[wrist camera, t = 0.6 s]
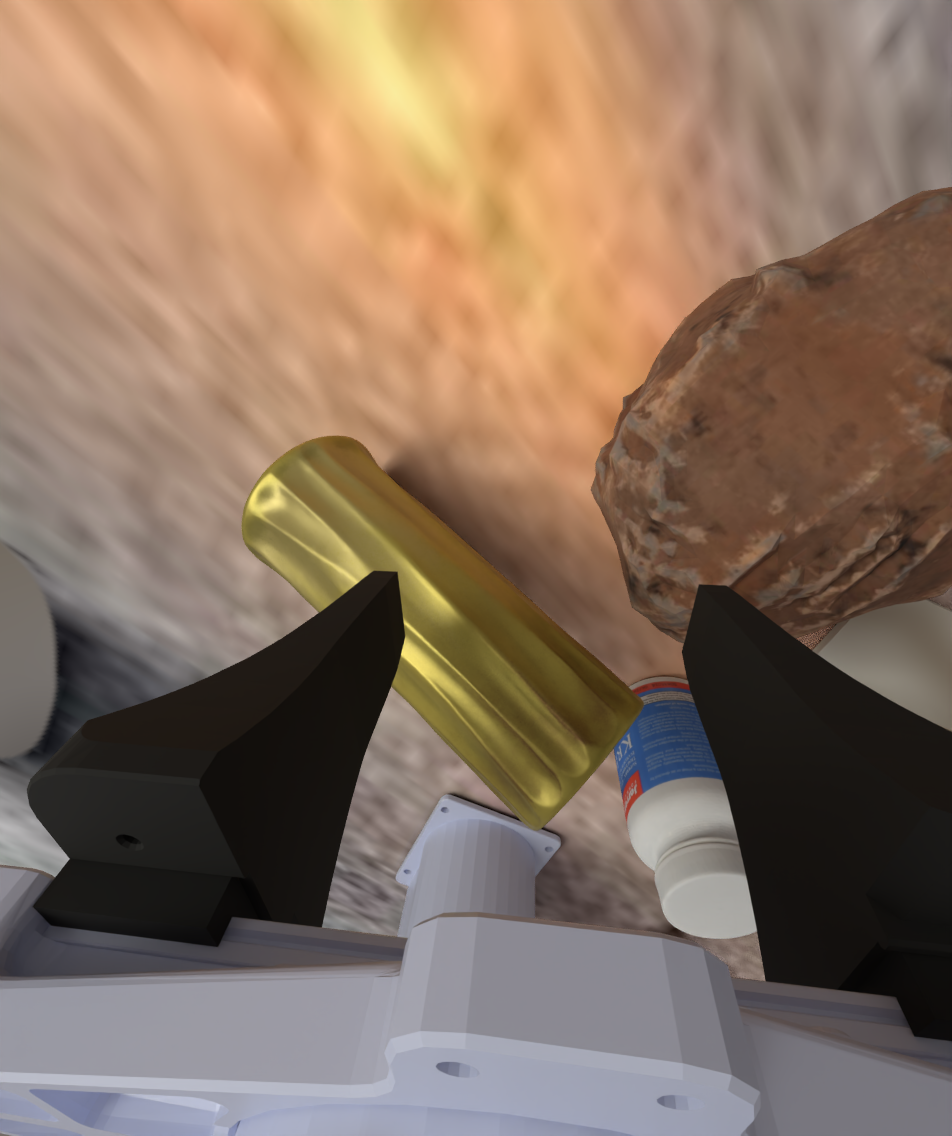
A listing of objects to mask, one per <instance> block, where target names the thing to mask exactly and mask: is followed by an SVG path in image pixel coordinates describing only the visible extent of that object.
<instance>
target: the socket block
mask: <svg viewBox="0 0 952 1136" xmlns="http://www.w3.org/2000/svg"><path fill="white" fill-rule="evenodd" d="M812 651H813V652H815V653H816V654H818V655H819V656H821V657H822V658H824V659H825V660H826V661H828V662H829V663H831V664H832V665H834V666H835V667H837V668H838V669H840V670H841V671H843V672H844V673H846V674H848V675H849V676H851V677H852V678H854V679H855V680H857V681H859V682H861V683H862V684H864V685H866V686H867V687H869V688H871V689H872V690H874V691H876V692H877V693H879V694H881V695H882V696H884V697H886V698H888V699H889V700H891V701H893V702H895V703H897V704H898V705H900V706H902V707H904V708H906V709H908V710H910V711H911V712H913V713H915V714H917V715H919V716H921V717H923V718H925V719H927V720H929V721H931V722H933V723H935V724H937V725H939V726H941V727H943V728H945V729H947V730H949V731H951V732H952V610H950V609H948V608H946V607H944V606H942V605H939V604H937V603H935V602H933V601H931V600H929V599H926V600H923V601H918V602H911V603H905V604H896V605H892V606H888V607H884V608H880V609H876V610H873V611H870V612H868V613H865V614H862V615H860V616H857V617H854V618H851V619H848V620H845V621H842V622H839V623H837V624H836V625H835V626H834V628H833V629H832V630H831V631H830V632H829V633H828V634H827V635H826V636H825V637H824V638H823V639H822V640H821V641H820V643H819V644H818V645H817V646H816V647H815V648H814V649H813V650H812Z"/></svg>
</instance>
